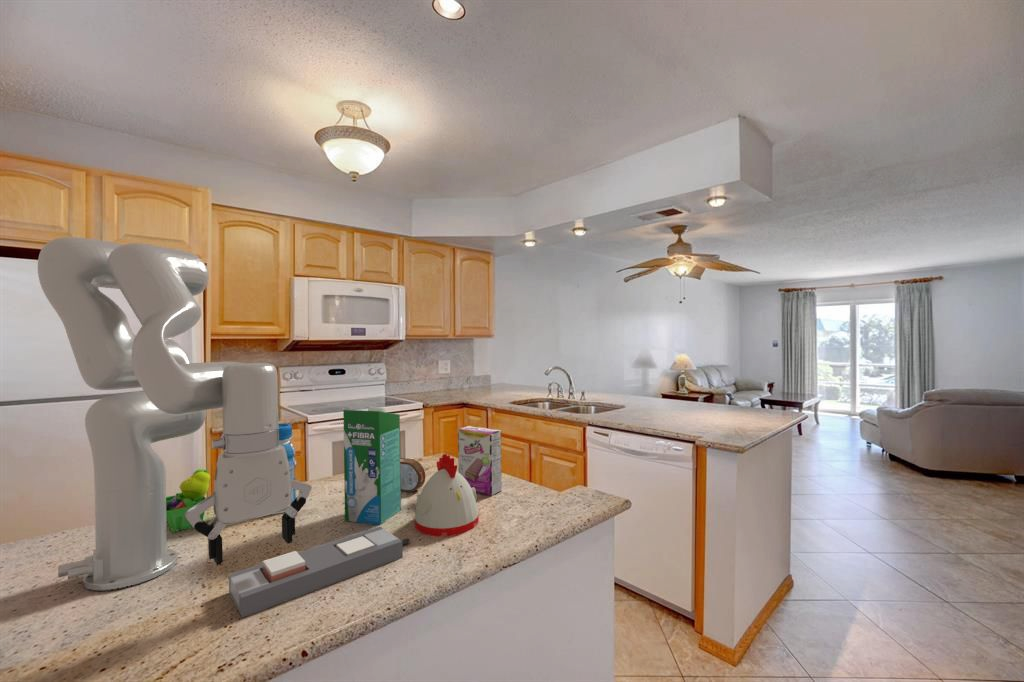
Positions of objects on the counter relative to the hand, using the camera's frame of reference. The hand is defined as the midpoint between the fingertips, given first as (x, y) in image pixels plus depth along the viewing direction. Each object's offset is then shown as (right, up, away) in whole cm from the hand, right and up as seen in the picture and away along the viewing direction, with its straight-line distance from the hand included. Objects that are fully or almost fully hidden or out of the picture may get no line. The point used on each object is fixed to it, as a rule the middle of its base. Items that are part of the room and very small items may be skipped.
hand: (254, 550), depth 70 cm
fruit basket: (-33, -8, +30) cm, 45 cm away
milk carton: (+9, -7, +33) cm, 35 cm away
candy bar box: (+32, -7, +49) cm, 59 cm away
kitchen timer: (+26, -7, +28) cm, 39 cm away
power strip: (+9, -7, +9) cm, 14 cm away
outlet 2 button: (+12, -6, +11) cm, 18 cm away
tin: (+10, -7, +50) cm, 52 cm away
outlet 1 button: (+3, -5, +3) cm, 7 cm away
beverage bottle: (-16, -8, +37) cm, 41 cm away
